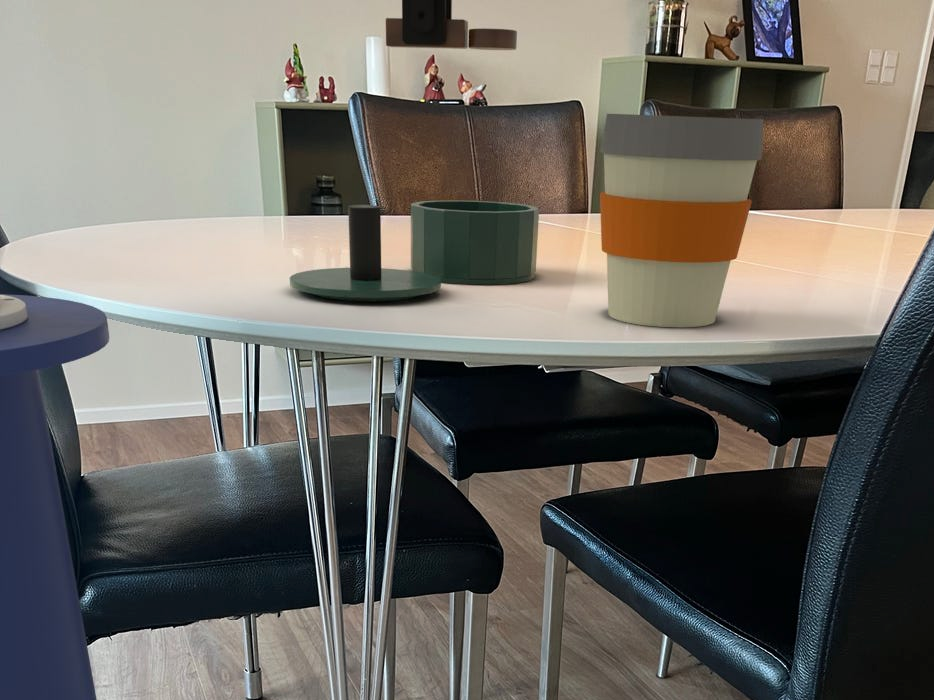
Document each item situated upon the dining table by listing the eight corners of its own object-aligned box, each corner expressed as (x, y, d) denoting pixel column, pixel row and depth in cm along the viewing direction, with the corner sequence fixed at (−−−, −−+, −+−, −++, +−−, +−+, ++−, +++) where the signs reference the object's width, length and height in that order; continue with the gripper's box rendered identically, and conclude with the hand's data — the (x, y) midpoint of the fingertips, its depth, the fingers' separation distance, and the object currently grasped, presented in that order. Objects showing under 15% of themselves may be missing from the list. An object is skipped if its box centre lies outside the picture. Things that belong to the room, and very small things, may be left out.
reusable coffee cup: (598, 329, 78) (617, 113, 71) (577, 302, 89) (592, 113, 82) (755, 333, 79) (789, 120, 72) (715, 305, 90) (741, 118, 83)
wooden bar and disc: (382, 45, 74) (382, 16, 73) (393, 47, 77) (393, 20, 76) (513, 48, 73) (514, 19, 72) (518, 50, 76) (519, 23, 75)
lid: (414, 310, 83) (414, 217, 80) (264, 298, 86) (258, 207, 82) (458, 286, 95) (459, 204, 91) (324, 276, 97) (321, 196, 94)
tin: (519, 288, 95) (523, 214, 92) (394, 279, 98) (394, 207, 95) (545, 271, 106) (549, 204, 103) (432, 263, 108) (432, 198, 105)
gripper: (398, -239, 74) (400, 50, 82) (341, -319, 60) (352, 37, 69) (498, -240, 73) (490, 52, 81) (464, -321, 59) (458, 40, 68)
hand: (427, 43), depth 75 cm, fingers closed on wooden bar and disc, 1 cm apart
